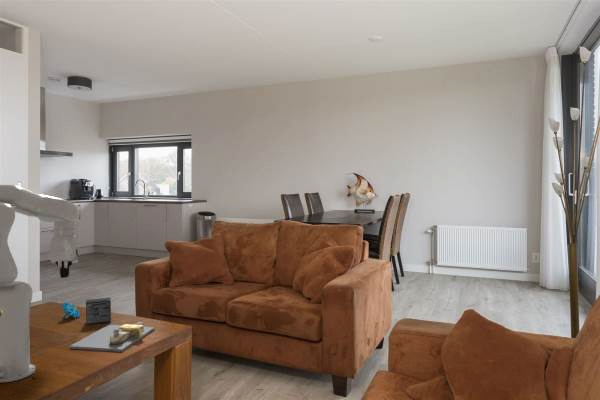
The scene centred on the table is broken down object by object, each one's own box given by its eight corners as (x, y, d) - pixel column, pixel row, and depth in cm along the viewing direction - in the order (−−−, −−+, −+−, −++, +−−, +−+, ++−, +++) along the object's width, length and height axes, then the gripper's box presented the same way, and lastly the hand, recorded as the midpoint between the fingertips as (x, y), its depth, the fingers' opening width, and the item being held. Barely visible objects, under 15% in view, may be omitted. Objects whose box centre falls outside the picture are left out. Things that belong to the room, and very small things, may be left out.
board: (121, 352, 164) (121, 349, 164) (69, 348, 167) (69, 345, 167) (154, 329, 190) (154, 327, 190) (108, 326, 193) (108, 324, 193)
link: (118, 344, 168) (117, 332, 168) (106, 343, 169) (106, 331, 169) (146, 328, 188) (146, 316, 188) (136, 327, 189) (136, 316, 189)
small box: (111, 318, 205) (111, 296, 205) (111, 322, 199) (110, 300, 199) (86, 321, 201) (86, 299, 201) (85, 325, 195) (85, 302, 195)
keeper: (138, 338, 176) (138, 328, 176) (119, 337, 177) (119, 327, 177) (143, 335, 180) (143, 325, 180) (124, 333, 181) (124, 324, 181)
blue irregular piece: (75, 317, 201) (60, 302, 201) (65, 326, 200) (50, 311, 200) (85, 313, 212) (71, 299, 212) (75, 322, 211) (61, 308, 211)
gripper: (40, 233, 172) (41, 278, 173) (77, 233, 172) (77, 279, 173) (51, 231, 180) (51, 275, 180) (87, 232, 180) (87, 275, 180)
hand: (64, 277), depth 176 cm, fingers closed
